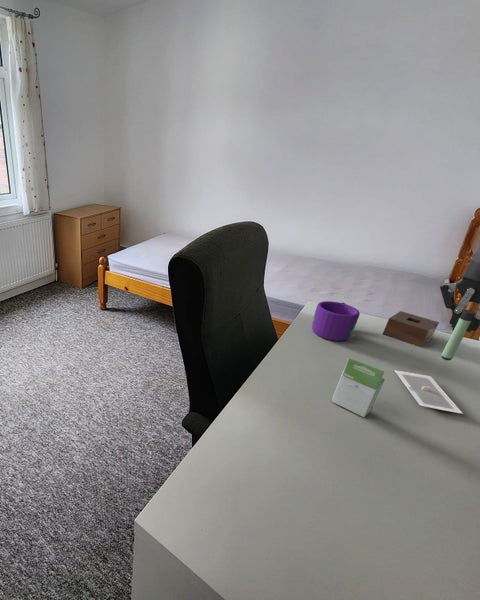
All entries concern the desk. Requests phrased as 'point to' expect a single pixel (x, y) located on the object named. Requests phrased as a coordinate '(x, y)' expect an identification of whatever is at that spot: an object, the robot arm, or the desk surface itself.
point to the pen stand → (410, 328)
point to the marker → (458, 334)
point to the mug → (334, 320)
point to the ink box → (358, 387)
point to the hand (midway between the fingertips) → (461, 328)
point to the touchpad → (427, 391)
